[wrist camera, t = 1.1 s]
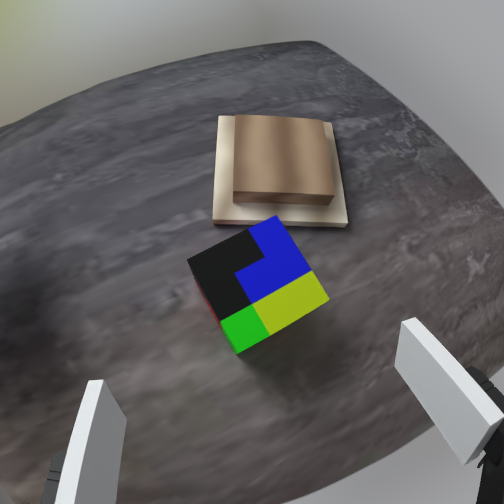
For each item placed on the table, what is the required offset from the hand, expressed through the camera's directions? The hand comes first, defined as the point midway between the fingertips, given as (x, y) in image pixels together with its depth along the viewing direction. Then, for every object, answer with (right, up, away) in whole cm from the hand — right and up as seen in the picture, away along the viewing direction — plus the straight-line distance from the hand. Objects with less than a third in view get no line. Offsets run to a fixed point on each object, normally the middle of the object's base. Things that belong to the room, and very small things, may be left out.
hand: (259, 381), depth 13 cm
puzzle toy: (0, -1, +27) cm, 27 cm away
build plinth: (+3, +17, +33) cm, 38 cm away
